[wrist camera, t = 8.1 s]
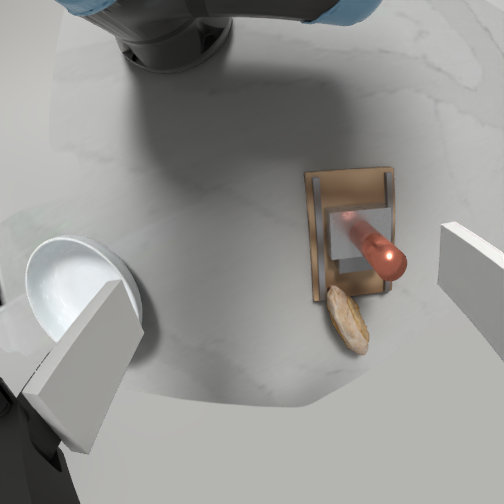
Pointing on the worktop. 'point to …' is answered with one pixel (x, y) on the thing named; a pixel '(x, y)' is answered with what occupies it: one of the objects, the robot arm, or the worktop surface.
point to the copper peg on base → (363, 240)
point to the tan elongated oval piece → (347, 320)
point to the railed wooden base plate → (341, 194)
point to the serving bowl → (72, 280)
